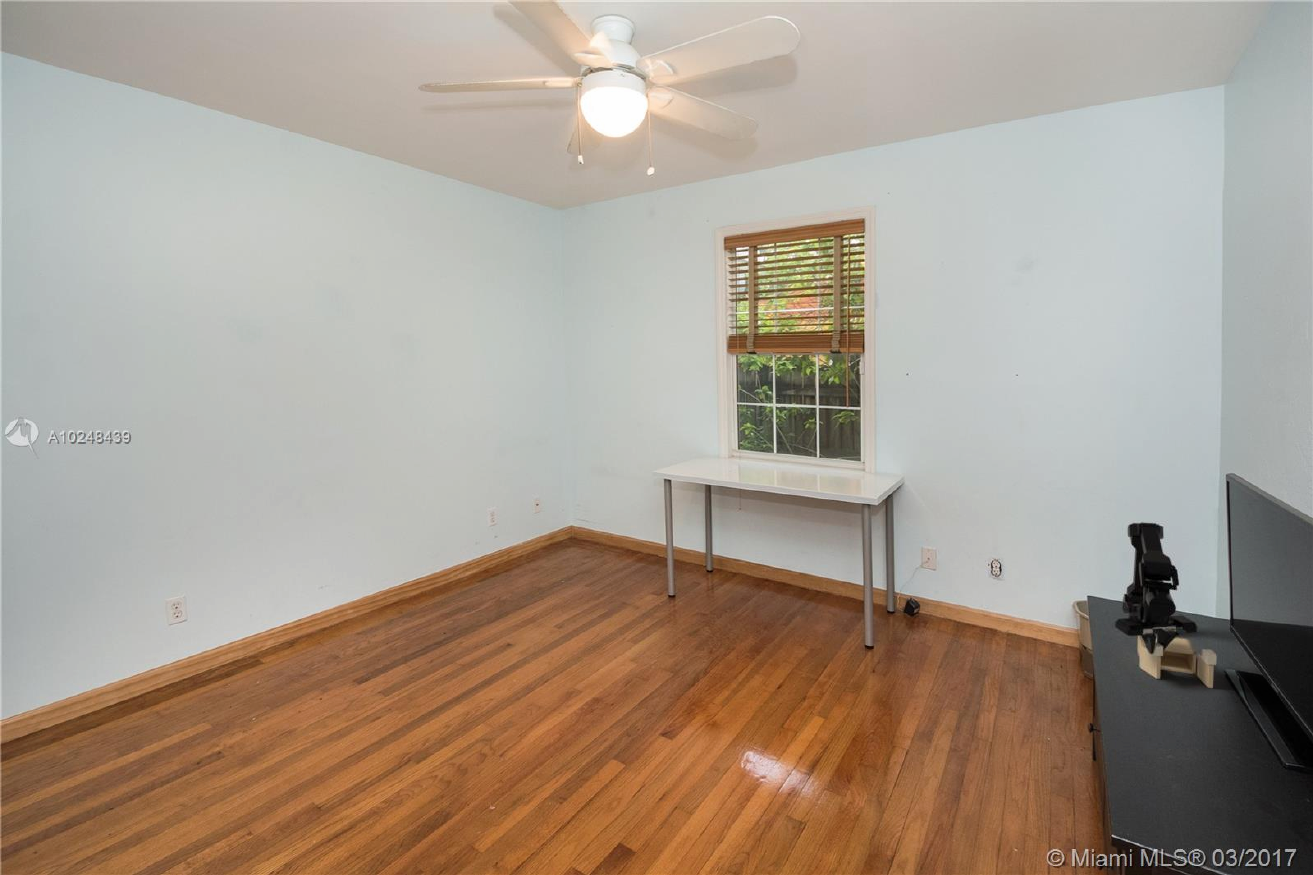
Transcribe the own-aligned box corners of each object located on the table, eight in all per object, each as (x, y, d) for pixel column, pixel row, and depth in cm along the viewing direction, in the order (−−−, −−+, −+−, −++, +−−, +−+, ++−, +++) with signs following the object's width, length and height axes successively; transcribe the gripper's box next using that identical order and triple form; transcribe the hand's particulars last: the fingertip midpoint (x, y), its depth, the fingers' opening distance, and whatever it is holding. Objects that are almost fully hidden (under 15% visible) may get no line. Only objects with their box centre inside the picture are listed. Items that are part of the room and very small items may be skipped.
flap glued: (1144, 666, 179) (1145, 635, 178) (1162, 678, 173) (1163, 646, 171) (1137, 667, 179) (1138, 636, 178) (1155, 679, 173) (1155, 646, 171)
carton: (1137, 652, 187) (1137, 632, 187) (1187, 659, 181) (1188, 639, 180) (1142, 666, 180) (1143, 645, 179) (1195, 674, 174) (1196, 653, 173)
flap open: (1206, 687, 167) (1207, 654, 165) (1194, 675, 173) (1196, 643, 171) (1215, 688, 166) (1216, 654, 165) (1203, 676, 172) (1204, 643, 171)
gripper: (1168, 589, 178) (1167, 638, 180) (1103, 592, 180) (1102, 641, 182) (1199, 604, 167) (1198, 656, 169) (1129, 608, 169) (1128, 660, 171)
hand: (1154, 653), depth 173 cm, fingers closed on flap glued, 2 cm apart
